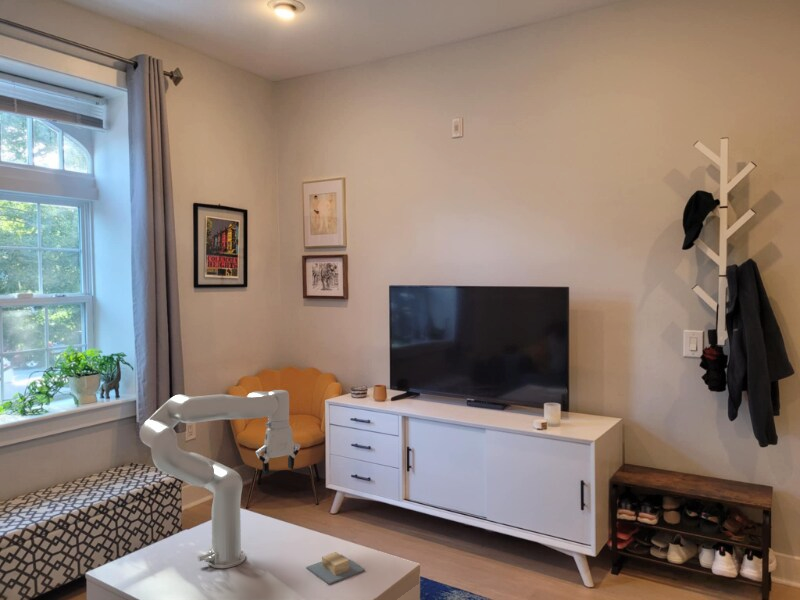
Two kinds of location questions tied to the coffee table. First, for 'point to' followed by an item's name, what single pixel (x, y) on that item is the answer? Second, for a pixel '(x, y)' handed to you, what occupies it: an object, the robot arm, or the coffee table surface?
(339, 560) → the light brown rectangular block
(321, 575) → the mat
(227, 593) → the coffee table surface
